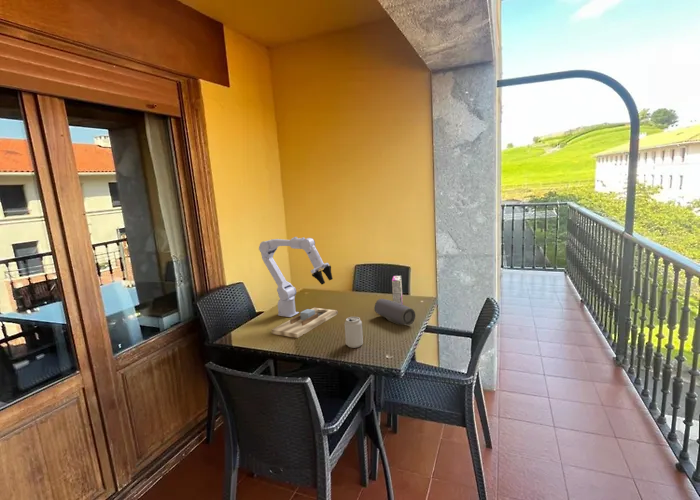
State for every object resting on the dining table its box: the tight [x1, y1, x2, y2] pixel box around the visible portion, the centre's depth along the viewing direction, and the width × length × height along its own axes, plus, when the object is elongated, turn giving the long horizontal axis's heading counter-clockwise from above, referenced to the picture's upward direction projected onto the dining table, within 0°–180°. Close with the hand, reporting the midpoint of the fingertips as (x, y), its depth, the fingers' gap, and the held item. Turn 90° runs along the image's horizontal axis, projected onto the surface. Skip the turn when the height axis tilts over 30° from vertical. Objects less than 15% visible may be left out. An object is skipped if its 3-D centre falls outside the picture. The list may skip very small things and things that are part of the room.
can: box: [344, 316, 364, 349], centre depth 157 cm, size 8×8×12 cm
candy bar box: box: [391, 275, 404, 305], centre depth 207 cm, size 11×5×16 cm, turn 168°
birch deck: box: [270, 307, 339, 339], centre depth 189 cm, size 16×36×2 cm, turn 150°
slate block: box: [299, 308, 315, 320], centre depth 190 cm, size 5×6×4 cm
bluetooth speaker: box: [373, 298, 416, 326], centre depth 183 cm, size 23×9×10 cm, turn 32°
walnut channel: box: [289, 313, 318, 326], centre depth 187 cm, size 8×13×2 cm, turn 150°
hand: (327, 281), depth 192 cm, fingers open, 7 cm apart
